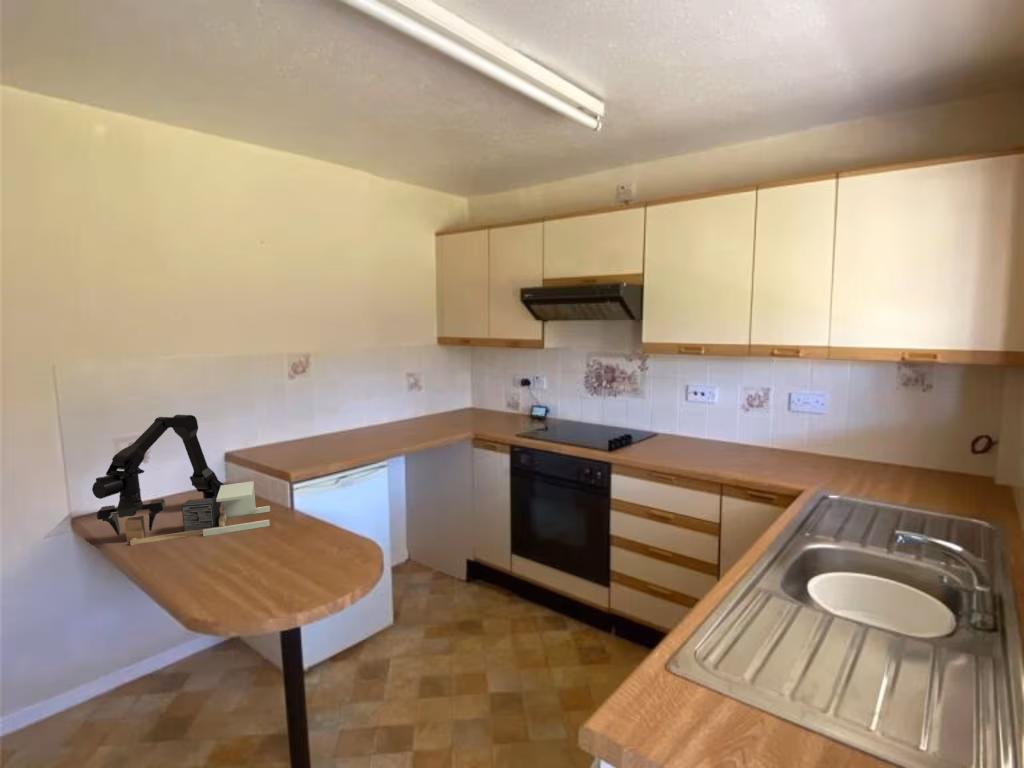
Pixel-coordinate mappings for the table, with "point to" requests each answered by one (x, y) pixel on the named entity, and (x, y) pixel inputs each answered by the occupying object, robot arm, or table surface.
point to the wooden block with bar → (137, 534)
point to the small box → (200, 514)
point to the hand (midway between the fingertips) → (134, 532)
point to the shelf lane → (238, 507)
